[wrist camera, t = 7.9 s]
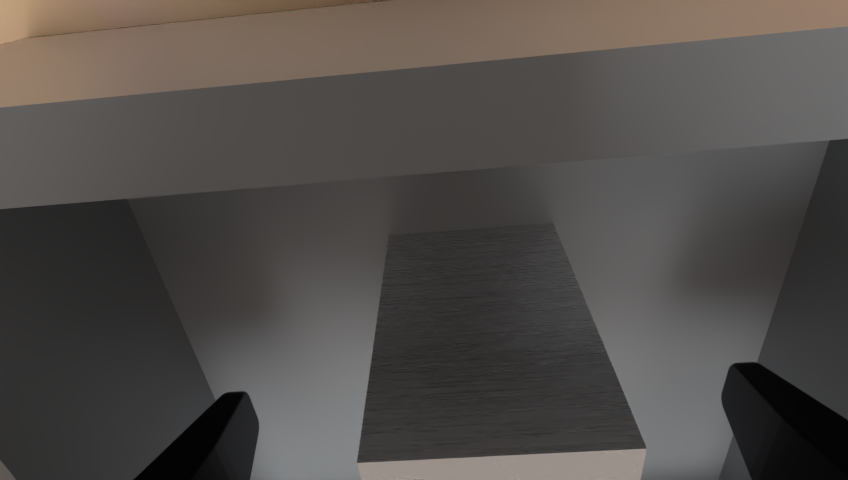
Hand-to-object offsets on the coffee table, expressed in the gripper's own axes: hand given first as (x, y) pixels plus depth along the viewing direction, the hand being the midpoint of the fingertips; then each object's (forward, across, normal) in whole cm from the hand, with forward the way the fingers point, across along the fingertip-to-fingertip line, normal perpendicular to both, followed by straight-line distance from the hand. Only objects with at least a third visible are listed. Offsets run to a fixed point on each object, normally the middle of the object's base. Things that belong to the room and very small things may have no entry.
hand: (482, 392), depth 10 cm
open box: (+3, 0, +1) cm, 3 cm away
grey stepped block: (+3, 0, +2) cm, 3 cm away
